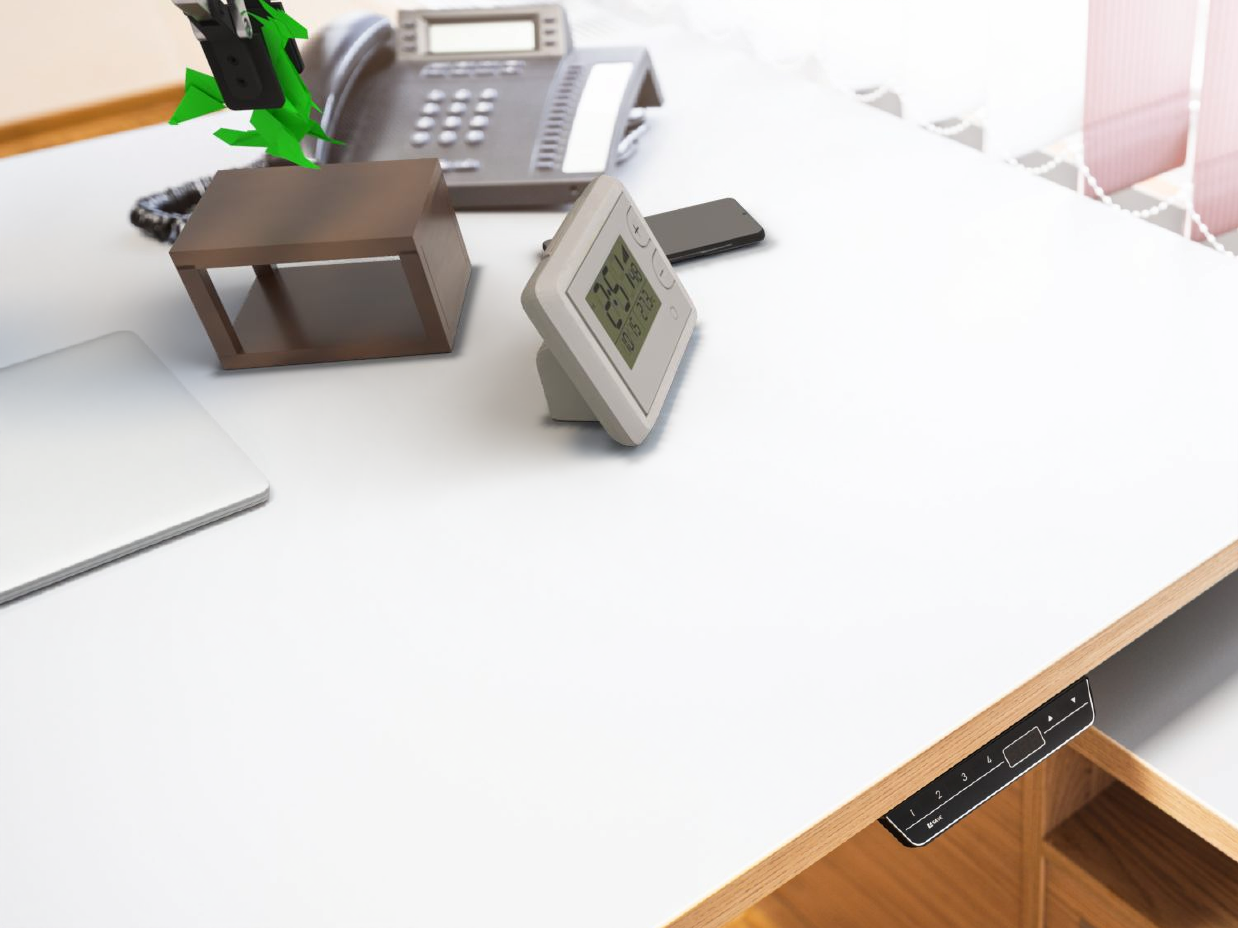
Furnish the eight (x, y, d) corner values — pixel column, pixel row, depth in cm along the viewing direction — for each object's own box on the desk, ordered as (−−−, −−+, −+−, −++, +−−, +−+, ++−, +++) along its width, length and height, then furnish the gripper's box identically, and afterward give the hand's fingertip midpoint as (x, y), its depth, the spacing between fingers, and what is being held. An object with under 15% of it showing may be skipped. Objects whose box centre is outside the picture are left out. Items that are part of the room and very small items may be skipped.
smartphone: (539, 240, 97) (732, 195, 102) (542, 252, 98) (734, 206, 103) (567, 279, 93) (767, 230, 98) (570, 291, 93) (768, 242, 99)
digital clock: (641, 463, 79) (601, 297, 71) (502, 443, 80) (448, 278, 73) (743, 329, 90) (717, 175, 83) (619, 314, 91) (583, 160, 84)
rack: (224, 370, 85) (167, 252, 80) (265, 282, 94) (217, 169, 88) (451, 352, 87) (412, 236, 82) (472, 267, 96) (438, 157, 90)
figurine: (351, 179, 79) (251, 21, 72) (203, 191, 83) (94, 42, 76) (409, 127, 82) (318, -28, 76) (264, 141, 86) (166, -6, 80)
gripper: (96, -308, 73) (235, 44, 85) (-20, -247, 61) (162, 151, 74) (242, -309, 74) (358, 39, 86) (157, -250, 62) (306, 143, 75)
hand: (267, 87), depth 80 cm, fingers closed on figurine, 4 cm apart
